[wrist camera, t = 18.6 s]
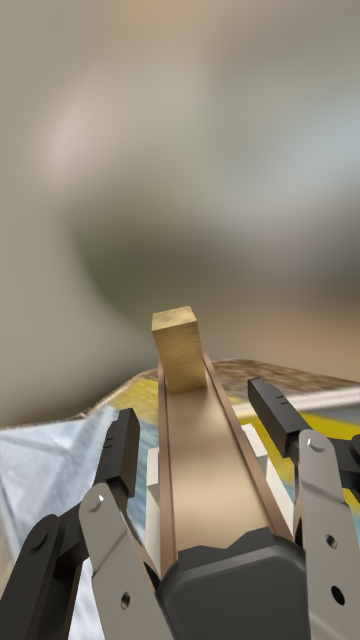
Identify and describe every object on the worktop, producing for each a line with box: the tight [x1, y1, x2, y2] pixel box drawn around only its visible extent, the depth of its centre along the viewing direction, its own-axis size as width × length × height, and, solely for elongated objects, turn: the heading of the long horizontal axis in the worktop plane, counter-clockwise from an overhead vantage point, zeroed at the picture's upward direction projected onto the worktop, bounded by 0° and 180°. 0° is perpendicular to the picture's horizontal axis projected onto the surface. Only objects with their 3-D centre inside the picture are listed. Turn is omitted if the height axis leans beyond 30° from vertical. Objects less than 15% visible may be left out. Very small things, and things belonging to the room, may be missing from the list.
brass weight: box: [152, 306, 207, 396], centre depth 23 cm, size 5×5×10 cm
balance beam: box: [158, 347, 293, 579], centre depth 16 cm, size 30×8×3 cm, turn 8°
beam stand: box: [145, 423, 294, 577], centre depth 17 cm, size 10×14×7 cm
